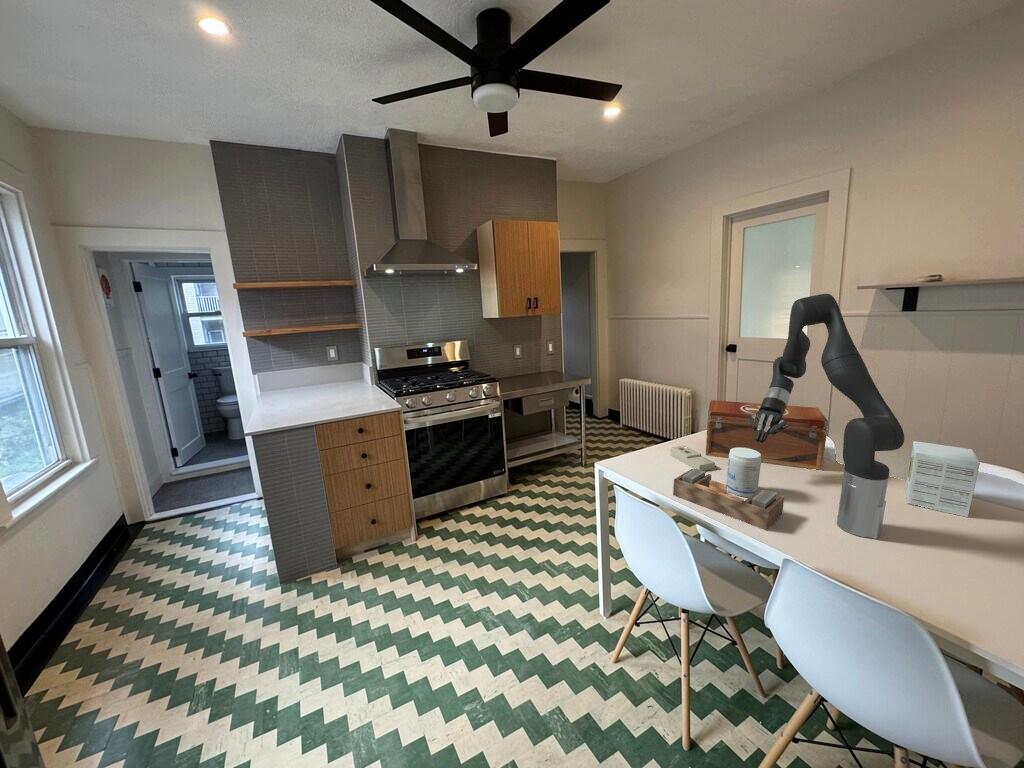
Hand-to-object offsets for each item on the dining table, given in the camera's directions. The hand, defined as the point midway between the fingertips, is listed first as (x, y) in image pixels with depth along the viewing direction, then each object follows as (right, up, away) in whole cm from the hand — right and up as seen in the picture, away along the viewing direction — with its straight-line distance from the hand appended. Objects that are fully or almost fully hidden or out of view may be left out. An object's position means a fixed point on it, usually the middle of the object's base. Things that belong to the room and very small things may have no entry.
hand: (759, 441), depth 139 cm
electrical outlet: (-14, -12, +22) cm, 29 cm away
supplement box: (+45, -17, -16) cm, 51 cm away
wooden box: (+17, -10, +27) cm, 33 cm away
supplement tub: (-9, -17, -4) cm, 20 cm away
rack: (-19, -19, -12) cm, 29 cm away
